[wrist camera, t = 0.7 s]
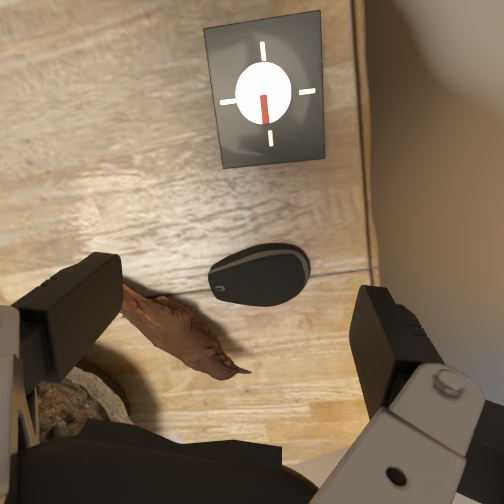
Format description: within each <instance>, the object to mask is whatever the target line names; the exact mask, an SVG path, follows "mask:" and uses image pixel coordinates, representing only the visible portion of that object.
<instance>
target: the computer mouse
mask: <svg viewBox="0 0 504 504" xmlns="http://www.w3.org/2000/svg"><path fill="white" fill-rule="evenodd" d="M309 275H310V265H309V261H308V258H307V256H306V255H305V253H304V252H303V251H302V250H300V249H299V248H297V247H295V246H292V245H286V244H264V245H259V246H255V247H251V248H248V249H246V250H243V251H240V252H238V253H236V254H233V255H231V256H229V257H227V258H225V259H223V260H221V261H219V262H218V263H216V264H214V265H213V266H212V267H211V269H210V271H209V274H208V281H209V285H210V287H211V290H212V292H213V294H214V296H215V297H216V298H217V299H218V300H221V301H225V302H231V303H236V304H243V305H249V306H260V307H269V306H276V305H279V304H282V303H285V302H287V301H289V300H291V299H292V298H294V297H295V296H297V295H298V294H299V293H300V292H301V291H302V290H303V288H304V287H305V285H306V283H307V281H308V279H309Z"/></svg>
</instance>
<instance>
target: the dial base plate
mask: <svg viewBox="0 0 504 504" xmlns="http://www.w3.org/2000/svg"><path fill="white" fill-rule="evenodd" d="M203 31H204V38H205V45H206V52H207V59H208V66H209V73H210V80H211V87H212V94H213V102H214V109H215V116H216V123H217V130H218V137H219V144H220V151H221V158H222V165H223V169H228V168H238V167H248V166H258V165H268V164H278V163H287V162H297V161H307V160H317V159H325V137H324V105H323V73H322V40H321V11H320V10H316V11H309V12H303V13H297V14H291V15H285V16H278V17H272V18H266V19H260V20H253V21H247V22H241V23H235V24H228V25H222V26H216V27H210V28H204V29H203ZM258 62H270V63H273V64H276V65H277V66H279V67H280V68H282V69H283V70H284V71H285V73H286V74H287V76H288V78H289V80H290V83H291V87H292V98H291V103H290V106H289V108H288V110H287V112H286V113H285V114H284V116H282V117H281V118H280V119H279V120H277V121H275V122H273V123H270V124H264V125H262V124H256V123H253V122H251V121H249V120H248V119H246V118H245V117H244V116H243V115H242V113H241V112H240V110H239V108H238V106H237V103H236V98H235V89H236V84H237V81H238V79H239V77H240V75H241V74H242V73H243V71H244V70H245V69H246V68H248V67H249V66H251V65H252V64H255V63H258Z"/></svg>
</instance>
